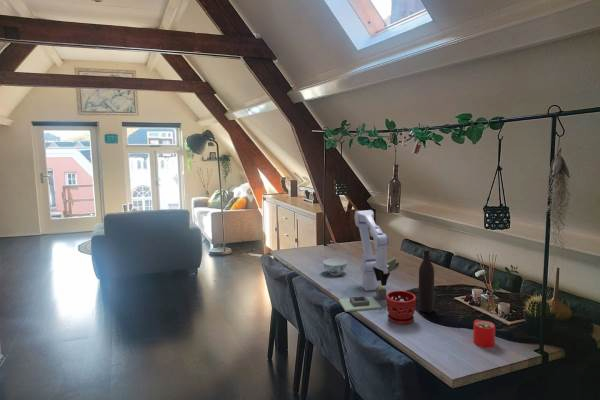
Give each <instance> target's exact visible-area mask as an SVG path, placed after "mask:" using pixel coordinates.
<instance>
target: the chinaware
mask: <svg viewBox="0 0 600 400" xmlns="http://www.w3.org/2000/svg"><path fill="white" fill-rule="evenodd" d="M322 263H323V267H324V269H325V270H326V271H327V272H328V273H329V274H330V275H332V276H340V275H341V274H342V273H343V272H344V271H345V270H346V268H347V266H348V260H346V259H344V258H343V259H342V258H328V259H324V260H323V262H322Z"/></svg>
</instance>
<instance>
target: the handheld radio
mask: <svg viewBox="0 0 600 400" xmlns="http://www.w3.org/2000/svg"><path fill="white" fill-rule="evenodd" d="M387 265H389V267H387V269H388V272H390V271H392V270H394V269H395V268H396V267H397V266H398V265H400V262H397V257H395V256H393V257H392V258H389V259H388V260H387Z"/></svg>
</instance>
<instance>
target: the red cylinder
mask: <svg viewBox="0 0 600 400" xmlns="http://www.w3.org/2000/svg"><path fill="white" fill-rule="evenodd" d="M472 327H473V337H472V338H473V341H472V342H473V344H475V345H476V346H477V347H480V348H487V349H489V348H493V347H495V343H496V324H495V323H494V322H491V321H488V320H482V319H475V320H474V321H473V326H472Z"/></svg>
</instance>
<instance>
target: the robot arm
mask: <svg viewBox="0 0 600 400" xmlns="http://www.w3.org/2000/svg"><path fill="white" fill-rule="evenodd" d="M374 218H375V213H374V211H373V210H372V209H368V210H366V209H365V210H355V213H354V223H355V226H356V227H357V228H358V230H359V234H360V241H361V246H362V251H363V257H362V258H361V259H360V261H359V262H360V265H359V266H360V270H361V273H362V277H361V278H362V284H360V286H361V287H362V288H363V290H365V292H367V291H376V288H377V287H378V282H380V283H381V286H384V287H385V286H387V282H388V279H389V276H390V274H391V272H390V271H388V269H387V267H389V265H387V259H388V252H387V251H388V250H387V249H388V247H387V246H389V243H390V242H389V241H390V240H389V236H388V234H385V233H383V230H382V229H381V227H380V225H378V224H376V222H375V220H374ZM370 235H371V236H372V238H373V245H374V250H375V254H373V253H374V252H373V249H372V243H371V239H370Z"/></svg>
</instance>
